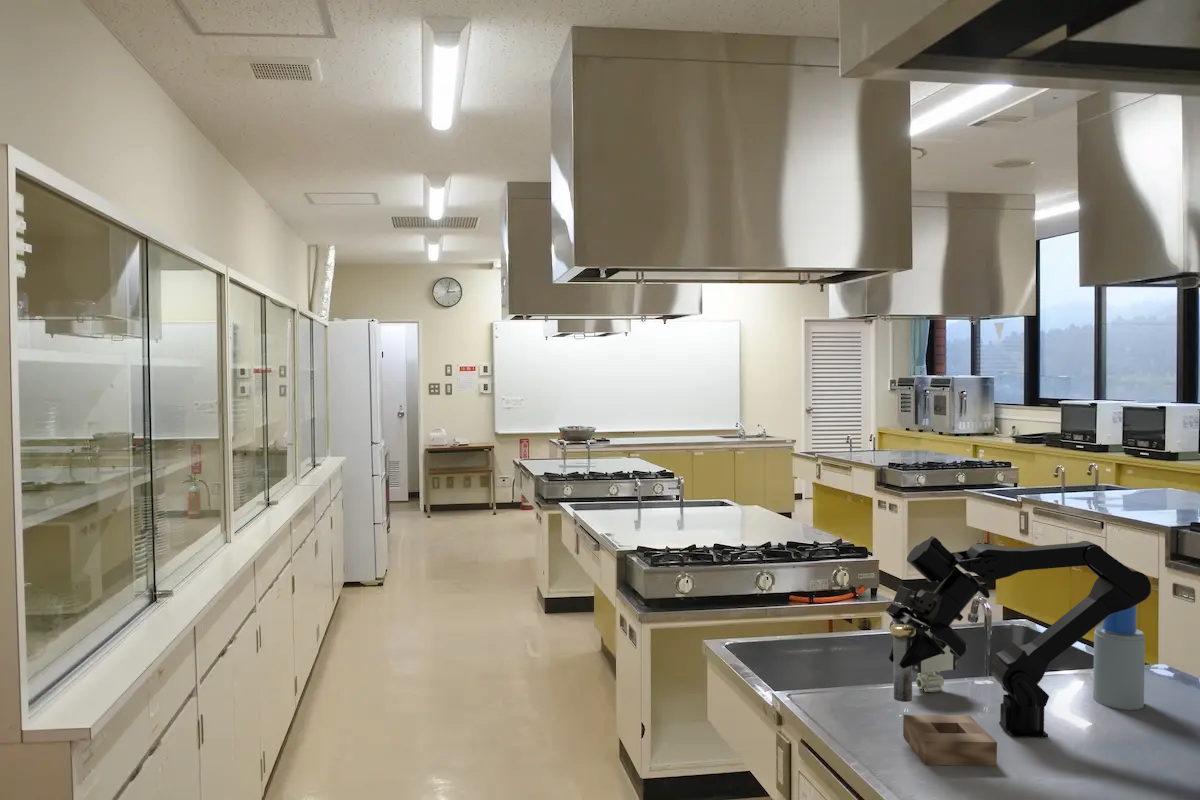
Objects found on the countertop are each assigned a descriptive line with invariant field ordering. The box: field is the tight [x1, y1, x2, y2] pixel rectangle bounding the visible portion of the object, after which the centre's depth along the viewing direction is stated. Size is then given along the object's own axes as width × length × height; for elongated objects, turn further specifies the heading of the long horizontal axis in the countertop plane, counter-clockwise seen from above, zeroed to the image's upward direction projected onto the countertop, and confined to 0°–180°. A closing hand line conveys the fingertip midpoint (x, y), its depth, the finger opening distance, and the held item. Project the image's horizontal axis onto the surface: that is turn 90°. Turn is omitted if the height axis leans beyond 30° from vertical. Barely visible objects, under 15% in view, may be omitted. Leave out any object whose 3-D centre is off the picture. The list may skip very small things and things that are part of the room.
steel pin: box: [889, 623, 914, 703], centre depth 165 cm, size 4×4×13 cm
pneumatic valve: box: [912, 646, 961, 693], centre depth 189 cm, size 6×12×12 cm, turn 105°
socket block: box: [902, 714, 998, 767], centre depth 158 cm, size 12×12×4 cm
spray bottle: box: [1092, 604, 1146, 711], centre depth 182 cm, size 9×9×25 cm
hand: (895, 663), depth 165 cm, fingers closed on steel pin, 3 cm apart
